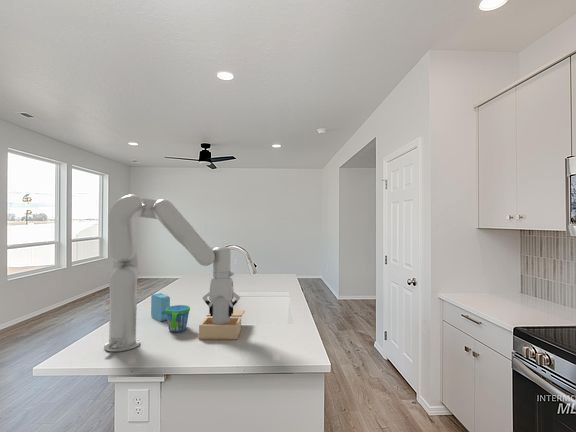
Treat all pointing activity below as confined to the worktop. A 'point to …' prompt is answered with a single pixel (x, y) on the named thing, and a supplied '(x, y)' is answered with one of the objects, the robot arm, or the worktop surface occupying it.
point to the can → (220, 311)
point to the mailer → (219, 329)
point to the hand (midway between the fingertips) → (221, 315)
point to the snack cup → (177, 317)
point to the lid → (235, 313)
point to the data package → (159, 306)
